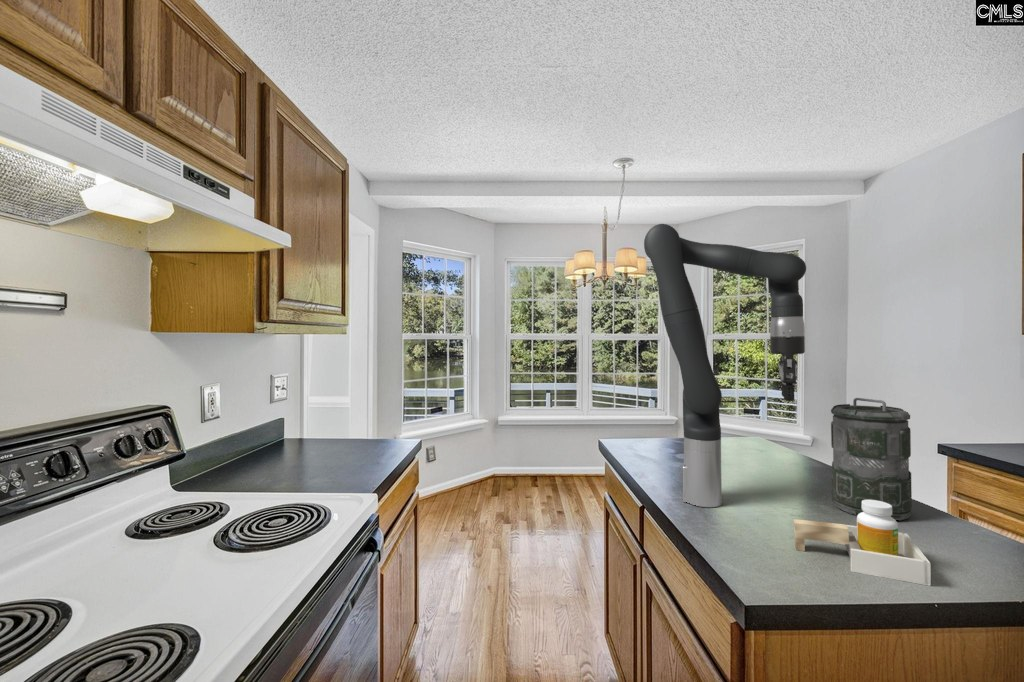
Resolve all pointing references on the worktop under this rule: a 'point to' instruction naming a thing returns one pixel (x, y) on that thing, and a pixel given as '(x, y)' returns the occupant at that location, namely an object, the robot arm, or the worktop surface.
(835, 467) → the canister
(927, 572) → the box
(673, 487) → the worktop surface
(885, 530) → the supplement bottle
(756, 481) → the worktop surface
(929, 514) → the worktop surface
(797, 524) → the scraper
